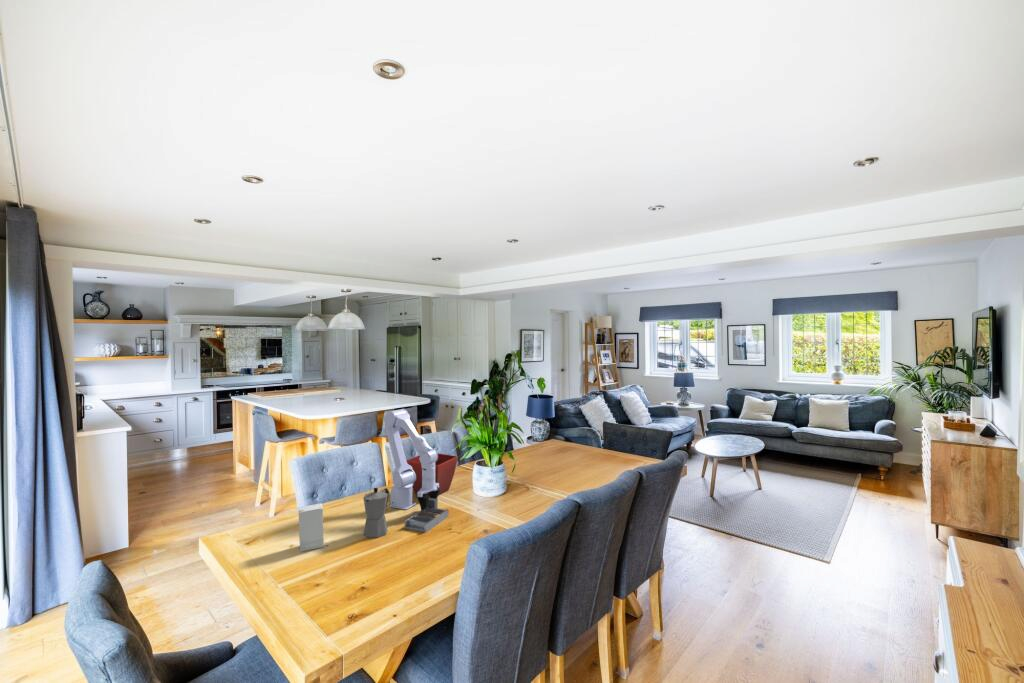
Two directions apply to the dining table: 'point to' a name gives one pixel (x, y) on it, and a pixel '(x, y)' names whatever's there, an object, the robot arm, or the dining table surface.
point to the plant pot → (442, 472)
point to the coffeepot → (375, 513)
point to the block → (432, 503)
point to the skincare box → (311, 527)
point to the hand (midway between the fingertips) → (428, 508)
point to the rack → (426, 519)
